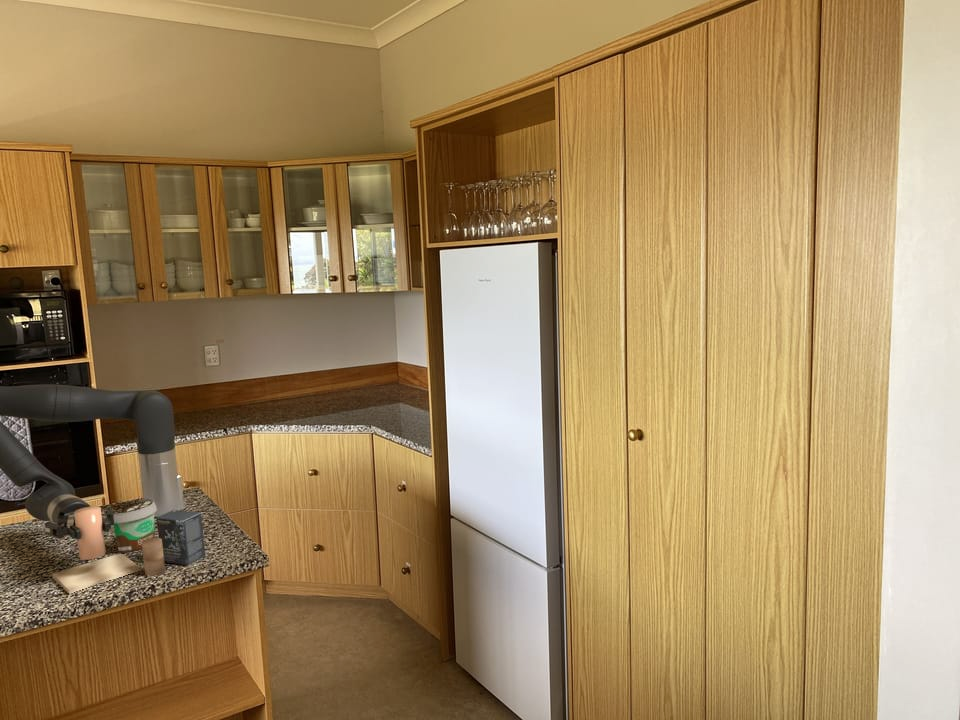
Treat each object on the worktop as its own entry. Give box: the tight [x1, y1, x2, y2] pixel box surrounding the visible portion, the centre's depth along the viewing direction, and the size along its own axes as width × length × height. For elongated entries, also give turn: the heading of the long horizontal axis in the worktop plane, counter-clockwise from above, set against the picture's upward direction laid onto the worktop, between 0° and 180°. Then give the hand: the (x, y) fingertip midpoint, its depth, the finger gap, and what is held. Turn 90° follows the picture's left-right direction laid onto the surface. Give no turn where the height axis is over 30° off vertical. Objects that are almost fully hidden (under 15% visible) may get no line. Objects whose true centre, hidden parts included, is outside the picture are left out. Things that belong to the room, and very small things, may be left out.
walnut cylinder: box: [141, 537, 166, 577], centre depth 154 cm, size 4×4×7 cm
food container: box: [112, 497, 157, 554], centre depth 169 cm, size 12×6×10 cm, turn 168°
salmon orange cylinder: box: [74, 505, 107, 561], centre depth 153 cm, size 5×5×10 cm
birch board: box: [52, 553, 141, 595], centre depth 154 cm, size 14×12×1 cm
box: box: [156, 509, 206, 567], centre depth 160 cm, size 8×6×11 cm
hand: (93, 530), depth 151 cm, fingers closed on salmon orange cylinder, 5 cm apart
